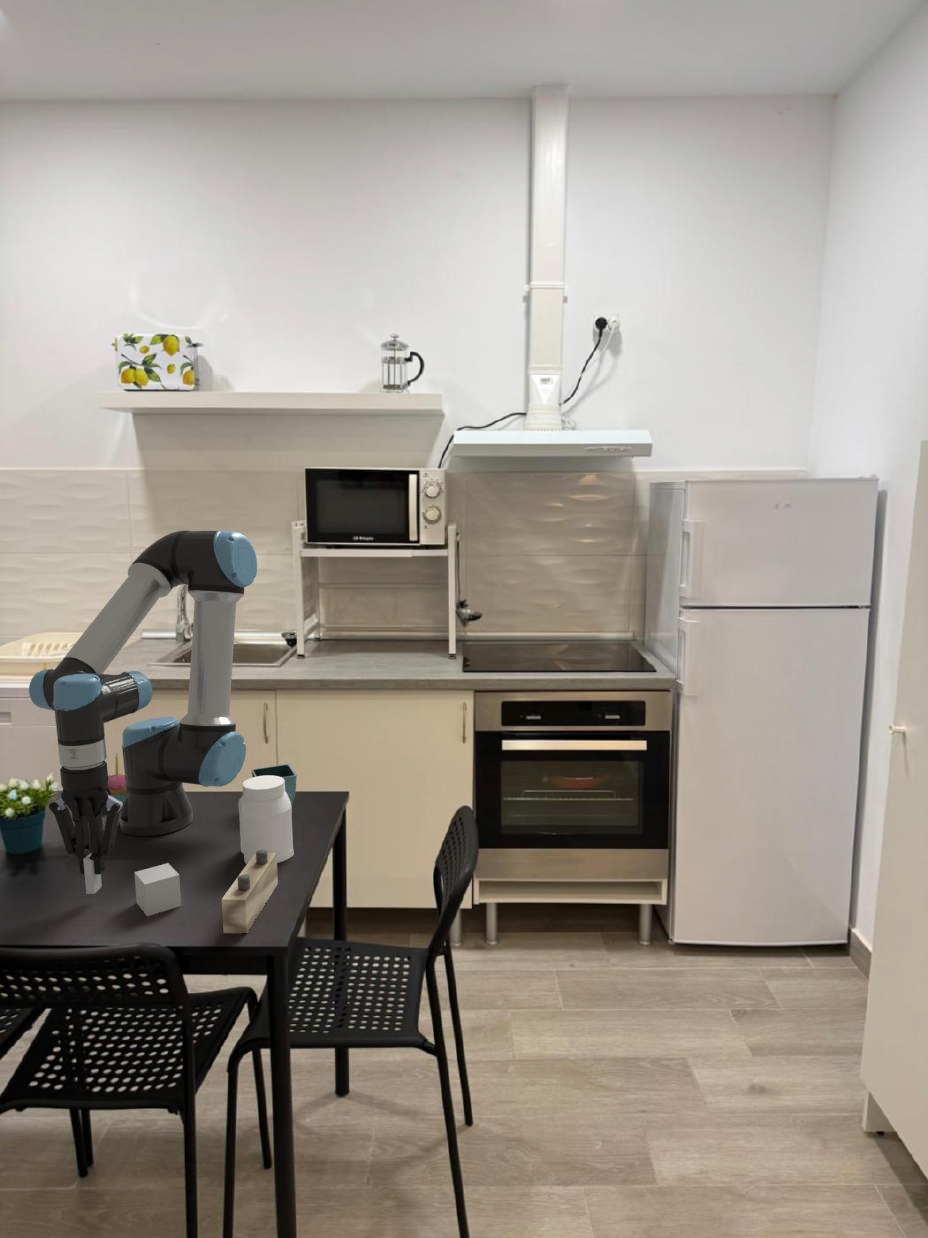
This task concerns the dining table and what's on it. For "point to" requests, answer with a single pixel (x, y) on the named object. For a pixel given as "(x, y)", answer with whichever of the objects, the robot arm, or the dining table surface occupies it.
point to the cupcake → (117, 784)
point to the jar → (265, 818)
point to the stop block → (249, 892)
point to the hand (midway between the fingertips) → (94, 890)
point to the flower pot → (284, 773)
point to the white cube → (157, 889)
